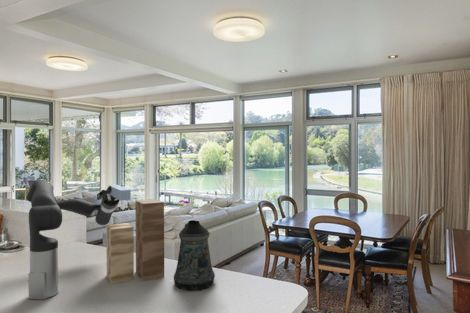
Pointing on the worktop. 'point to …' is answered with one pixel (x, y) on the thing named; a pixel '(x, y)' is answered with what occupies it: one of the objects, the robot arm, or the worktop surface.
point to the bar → (120, 192)
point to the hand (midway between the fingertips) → (116, 187)
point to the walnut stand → (149, 238)
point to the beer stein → (194, 259)
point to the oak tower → (120, 252)
